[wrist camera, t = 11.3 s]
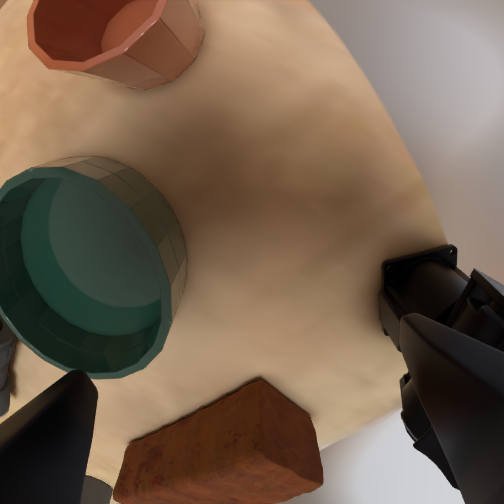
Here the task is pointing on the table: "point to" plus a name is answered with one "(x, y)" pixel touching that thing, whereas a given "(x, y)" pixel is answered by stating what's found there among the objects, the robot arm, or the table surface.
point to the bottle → (95, 492)
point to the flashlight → (5, 364)
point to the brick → (226, 455)
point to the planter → (89, 265)
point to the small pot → (116, 38)
